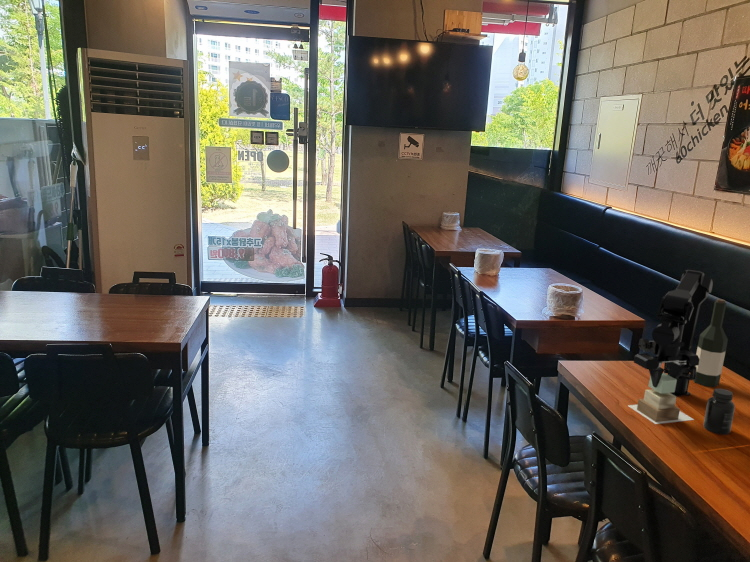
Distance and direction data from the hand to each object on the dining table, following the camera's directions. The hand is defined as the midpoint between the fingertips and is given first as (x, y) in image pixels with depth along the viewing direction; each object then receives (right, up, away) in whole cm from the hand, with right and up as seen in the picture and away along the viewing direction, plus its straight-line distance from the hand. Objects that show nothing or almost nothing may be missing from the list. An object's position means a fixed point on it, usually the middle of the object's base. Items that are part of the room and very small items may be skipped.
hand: (662, 386), depth 168 cm
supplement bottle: (+13, -12, -5) cm, 18 cm away
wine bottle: (+30, -4, +29) cm, 41 cm away
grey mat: (+1, -9, +4) cm, 10 cm away
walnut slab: (0, -9, +2) cm, 9 cm away
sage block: (0, -1, 0) cm, 1 cm away
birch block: (0, -6, +1) cm, 6 cm away
